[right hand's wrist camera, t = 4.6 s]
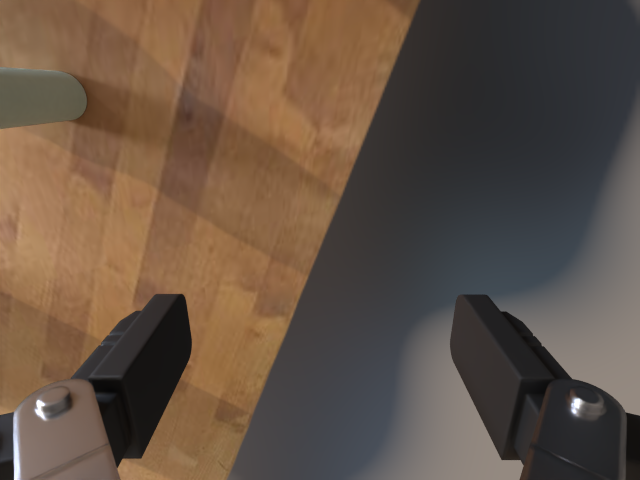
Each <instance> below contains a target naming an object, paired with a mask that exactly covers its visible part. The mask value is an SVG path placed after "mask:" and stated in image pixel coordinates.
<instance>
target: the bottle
mask: <svg viewBox="0 0 640 480" xmlns="http://www.w3.org/2000/svg"><path fill="white" fill-rule="evenodd" d="M86 106H87V97H86V93H85V91H84V88H83V87H82V85H81V84H80V83H79V81H78V80H77V79H76V78H74V77H73V76H72V75H70V74H68V73H65V72H61V71H49V70H34V69H20V68H6V67H0V129H5V128H13V127H21V126H29V125H37V124H45V123H53V122H61V121H69V120H75V119H77V118H79V117H80V116H81V115H82V114H83V113H84V111H85V109H86Z"/></svg>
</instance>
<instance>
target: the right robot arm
mask: <svg viewBox="0 0 640 480" xmlns="http://www.w3.org/2000/svg"><path fill="white" fill-rule="evenodd" d="M191 348H192V339H191V332H190V325H189V318H188V311H187V304H186V299H185V297H184V295H183V294H156V295H154V296H153V297H152V299H151V300H150V301H149V302H148V304H147V305H146V306H145V307H144V309H143V310H142V311H135V312H134V313H132V314H130V315H129V316H127V317H126V318H124V319H123V320H121V321H120V322H119V323H118V324H117V325H116V326H115V328H114V329H113V330H112V331H111V332H110V335H108V336H107V337H106V338H105V339H104V340H103V341H102V343H101V346H98V347H97V348H96V350H95V351H94V352H93V353H92V354H91V355H90V357H89V358H88V359H87V360H86V361H85V362H84V364H83V365H82V366H81V367H80V368H79V369H78V370H77V372H76V373H75V374H74V375H73V376H72V377H71V379H66V380H61V381H57V382H54V383H51V384H49V385H46V386H44V387H42V388H40V389H38V390H37V391H35V392H33V393H32V394H31V395H29V396H28V397H27V398H26V399H24V400H23V401H22V402H21V403H20V405H19V406H18V407H17V409H16V410H15V412H12V413H8V414H3V415H0V480H120V477H119V474H118V470H117V468H118V466H119V464H120V462H121V460H122V458H142V456H143V454H144V452H145V450H146V448H147V446H148V444H149V441H150V439H151V437H152V435H153V433H154V431H155V429H156V427H157V425H158V423H159V421H160V419H161V417H162V415H163V413H164V410H165V408H166V406H167V404H168V402H169V400H170V398H171V396H172V394H173V392H174V390H175V388H176V386H177V384H178V382H179V379H180V377H181V375H182V373H183V371H184V369H185V367H186V365H187V363H188V361H189V358H190V354H191ZM450 349H451V355H452V359H453V362H454V364H455V366H456V368H457V370H458V372H459V374H460V376H461V378H462V380H463V382H464V384H465V386H466V388H467V390H468V392H469V394H470V396H471V398H472V400H473V402H474V405H475V406H476V409H477V411H478V413H479V415H480V417H481V419H482V421H483V423H484V425H485V427H486V429H487V431H488V433H489V435H490V437H491V439H492V441H493V443H494V445H495V447H496V449H497V451H498V453H499V455H500V457H501V459H502V460H521V462H522V463H523V465H524V467H523V470H522V474H521V477H520V480H640V416H639V415H634V414H630V413H626V412H625V410H624V409H623V407H622V406H621V405H620V403H619V402H618V401H617V400H616V399H614V398H613V397H612V396H611V395H609V394H608V393H607V392H605V391H603V390H602V389H600V388H598V387H596V386H594V385H591V384H589V383H586V382H583V381H579V380H574V379H572V378H571V377H570V376H569V375H568V374H567V373H566V371H565V370H564V369H563V368H562V367H561V366H560V365H559V363H558V362H557V361H556V360H555V359H554V358H553V356H552V355H551V354H550V353H549V352H548V351H547V350H546V348H545V347H543V346H542V345H541V343H540V342H539V340H538V339H537V338H536V337H535V336H533V333H532V332H531V331H530V330H529V329H528V328H527V327H526V325H525V324H524V323H523V322H522V321H520V320H519V319H517V318H516V317H514V316H512V315H511V314H509V313H508V312H501V311H500V310H499V309H498V308H497V306H496V305H495V304H494V303H493V301H492V300H491V299H490V298H489V297H488V296H487V295H459V296H458V297H457V300H456V305H455V312H454V319H453V325H452V332H451V339H450Z"/></svg>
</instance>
